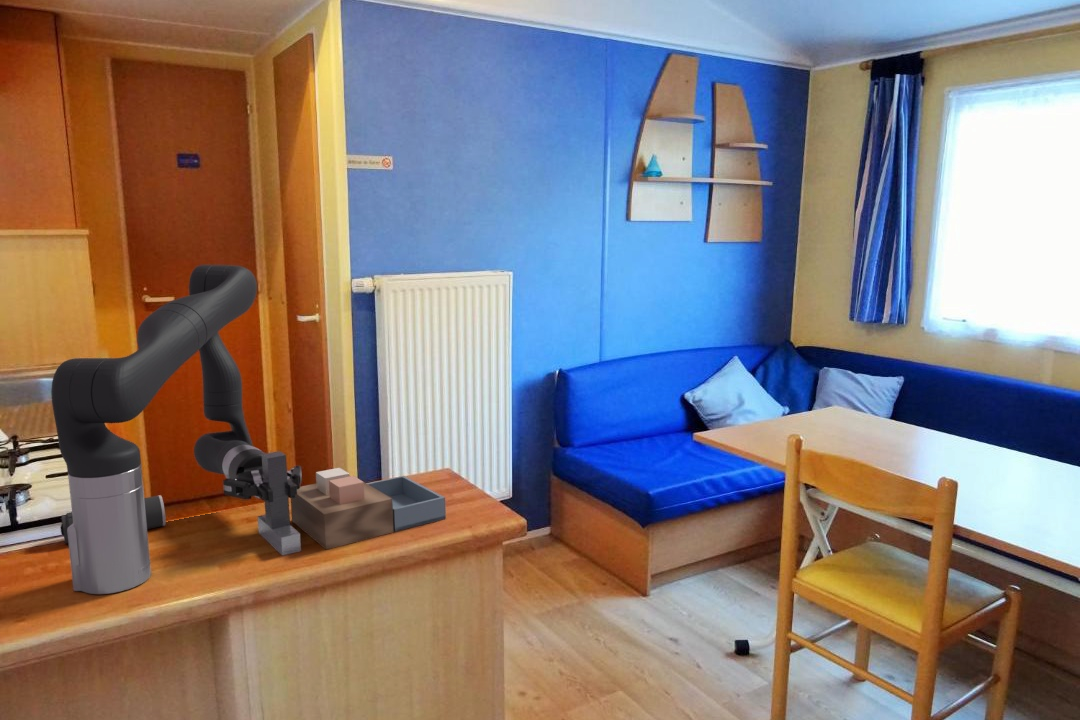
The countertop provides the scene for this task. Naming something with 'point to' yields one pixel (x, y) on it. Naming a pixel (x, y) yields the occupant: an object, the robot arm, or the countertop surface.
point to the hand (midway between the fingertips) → (281, 494)
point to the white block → (329, 478)
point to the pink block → (346, 489)
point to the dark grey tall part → (277, 506)
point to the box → (411, 502)
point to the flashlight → (152, 508)
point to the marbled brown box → (341, 516)
